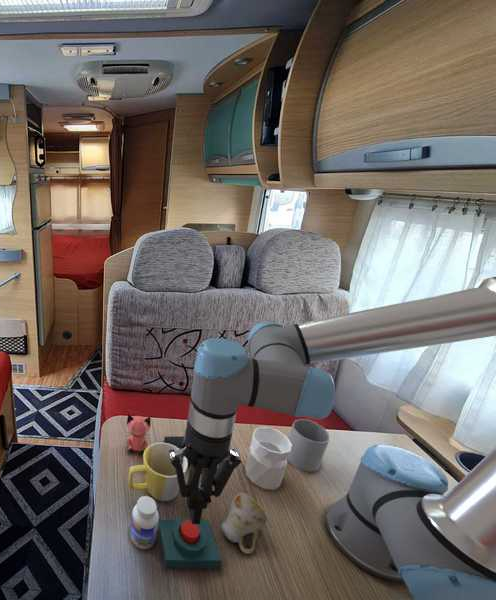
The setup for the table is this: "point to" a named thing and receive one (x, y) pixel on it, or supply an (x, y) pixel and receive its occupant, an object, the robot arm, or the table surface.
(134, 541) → the pill bottle
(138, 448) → the pink cat figurine
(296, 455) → the cup
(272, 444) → the vase
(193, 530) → the button
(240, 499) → the mug
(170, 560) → the switch
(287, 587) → the table surface
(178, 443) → the plate
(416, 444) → the table surface
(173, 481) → the mug
